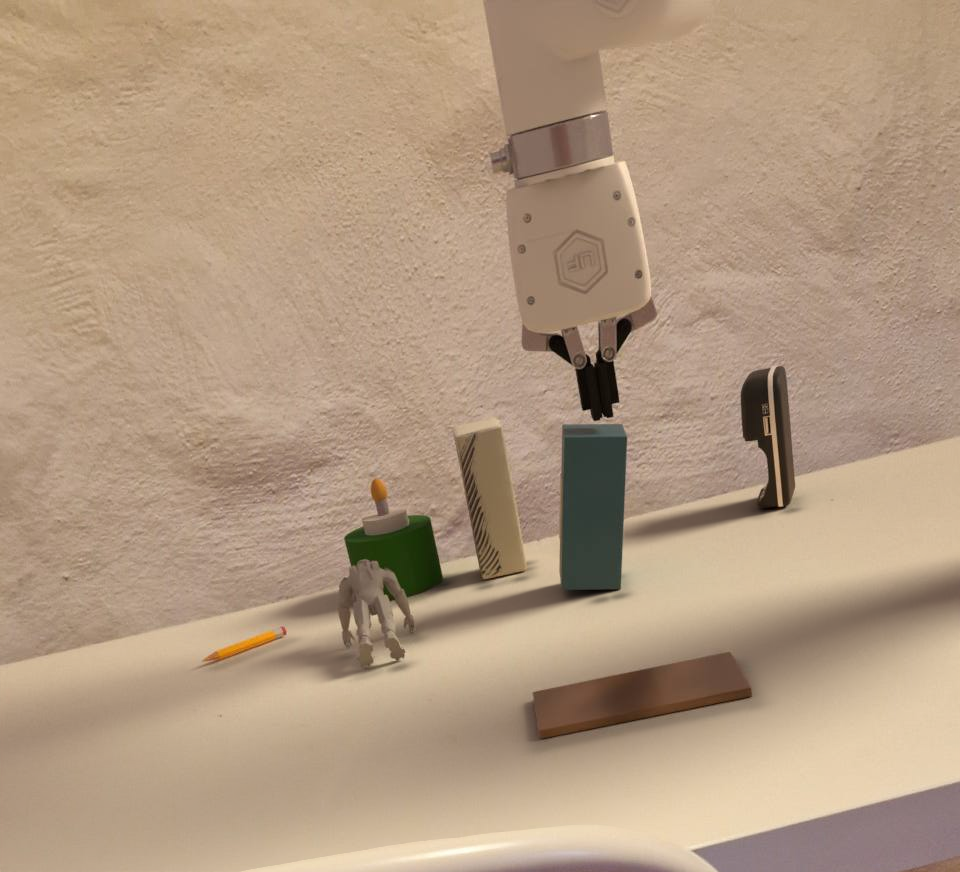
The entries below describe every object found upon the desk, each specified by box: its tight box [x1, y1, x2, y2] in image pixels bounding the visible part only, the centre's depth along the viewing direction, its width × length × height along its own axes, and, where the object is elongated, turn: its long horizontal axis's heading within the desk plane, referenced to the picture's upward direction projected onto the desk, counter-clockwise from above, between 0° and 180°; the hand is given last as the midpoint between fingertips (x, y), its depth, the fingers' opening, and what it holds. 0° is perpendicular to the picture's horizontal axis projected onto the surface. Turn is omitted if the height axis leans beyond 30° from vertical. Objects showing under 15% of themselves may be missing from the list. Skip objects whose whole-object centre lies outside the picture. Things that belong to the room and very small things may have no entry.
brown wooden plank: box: [532, 651, 753, 740], centre depth 94 cm, size 14×8×1 cm, turn 91°
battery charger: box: [740, 365, 796, 509], centre depth 129 cm, size 7×4×11 cm, turn 165°
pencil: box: [200, 626, 287, 663], centre depth 125 cm, size 1×9×1 cm, turn 123°
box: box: [452, 416, 528, 580], centre depth 127 cm, size 5×4×13 cm
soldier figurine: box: [337, 559, 417, 669], centre depth 117 cm, size 6×5×12 cm
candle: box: [343, 477, 444, 601], centre depth 131 cm, size 8×8×10 cm
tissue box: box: [558, 423, 628, 591], centre depth 117 cm, size 12×6×5 cm
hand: (602, 416), depth 113 cm, fingers closed
